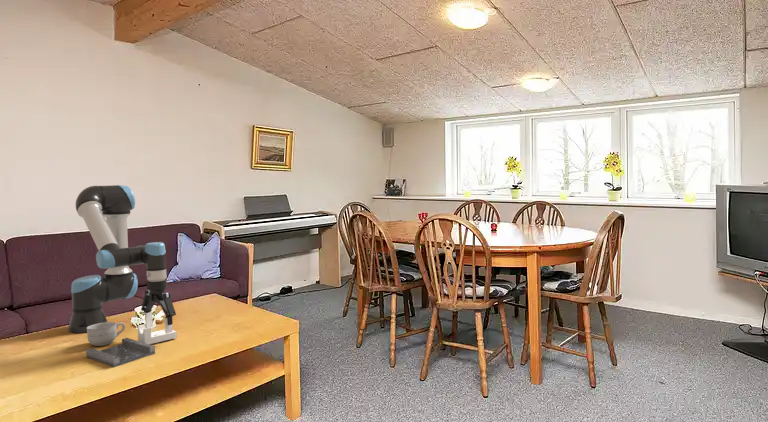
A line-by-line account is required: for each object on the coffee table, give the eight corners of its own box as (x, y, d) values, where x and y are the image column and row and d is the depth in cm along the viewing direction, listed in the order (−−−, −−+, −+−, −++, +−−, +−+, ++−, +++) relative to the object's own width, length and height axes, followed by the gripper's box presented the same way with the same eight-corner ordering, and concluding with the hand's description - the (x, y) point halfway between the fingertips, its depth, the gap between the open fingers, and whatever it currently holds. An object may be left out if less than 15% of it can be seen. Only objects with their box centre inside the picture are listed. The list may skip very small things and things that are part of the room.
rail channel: (86, 357, 188) (85, 349, 188) (127, 344, 202) (126, 337, 202) (114, 367, 178) (113, 358, 178) (155, 353, 192) (154, 346, 192)
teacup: (86, 350, 196) (85, 330, 196) (88, 342, 206) (87, 323, 205) (125, 344, 203) (125, 325, 202) (125, 336, 212) (125, 318, 212)
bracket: (145, 347, 199) (144, 329, 199) (138, 343, 204) (137, 325, 204) (176, 339, 209) (176, 322, 208) (169, 336, 214) (169, 319, 213)
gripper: (130, 278, 208) (133, 328, 210) (167, 284, 195) (169, 337, 196) (147, 275, 215) (149, 323, 216) (183, 280, 202) (185, 332, 203)
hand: (159, 330), depth 206 cm, fingers open, 13 cm apart
